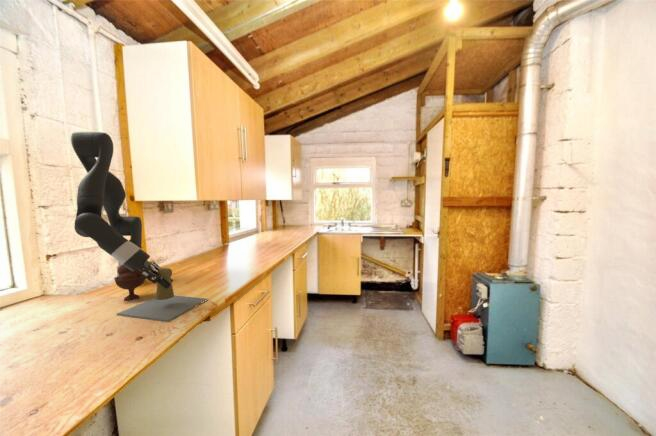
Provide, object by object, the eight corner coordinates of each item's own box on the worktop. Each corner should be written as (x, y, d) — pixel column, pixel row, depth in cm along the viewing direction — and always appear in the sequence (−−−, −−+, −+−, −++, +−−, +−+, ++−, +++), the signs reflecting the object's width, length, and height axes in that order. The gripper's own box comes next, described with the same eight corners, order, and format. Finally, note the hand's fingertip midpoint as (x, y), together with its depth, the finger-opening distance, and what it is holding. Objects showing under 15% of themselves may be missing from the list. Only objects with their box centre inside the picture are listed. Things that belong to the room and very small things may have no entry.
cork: (171, 293, 104) (170, 266, 104) (176, 297, 100) (175, 268, 100) (153, 297, 100) (153, 268, 100) (157, 301, 96) (156, 271, 95)
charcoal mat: (116, 315, 94) (116, 313, 94) (163, 295, 113) (163, 294, 113) (168, 321, 89) (168, 320, 89) (207, 300, 108) (207, 298, 108)
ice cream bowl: (131, 304, 103) (129, 267, 102) (108, 302, 105) (106, 265, 104) (153, 295, 114) (152, 261, 113) (132, 293, 116) (131, 259, 115)
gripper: (134, 251, 90) (175, 282, 95) (144, 245, 103) (180, 272, 108) (115, 268, 88) (159, 298, 93) (128, 259, 101) (165, 286, 106)
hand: (170, 284), depth 101 cm, fingers closed on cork, 4 cm apart
